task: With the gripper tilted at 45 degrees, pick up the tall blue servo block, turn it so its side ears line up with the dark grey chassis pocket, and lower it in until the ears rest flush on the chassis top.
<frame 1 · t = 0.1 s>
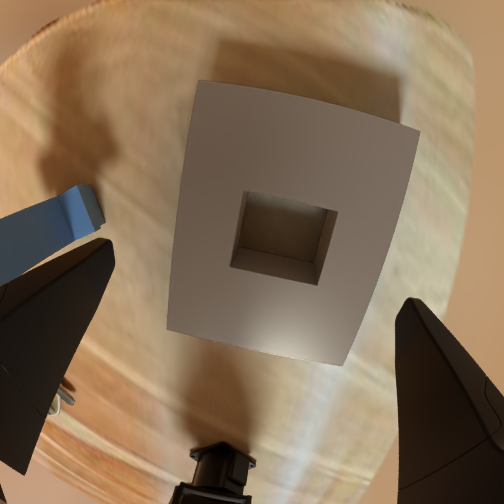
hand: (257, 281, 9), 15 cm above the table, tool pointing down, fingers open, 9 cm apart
salad plate: (18, 357, 36), on the table
servo: (80, 212, 26), on the table
chassis: (283, 223, 24), on the table
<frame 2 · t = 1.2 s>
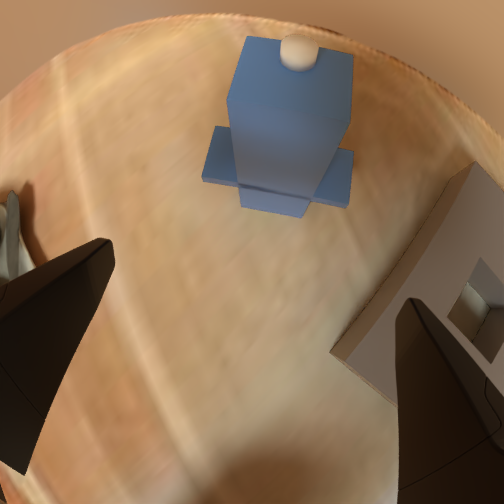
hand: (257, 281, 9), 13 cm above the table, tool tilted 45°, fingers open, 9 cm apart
servo: (275, 189, 24), on the table
chassis: (458, 312, 22), on the table
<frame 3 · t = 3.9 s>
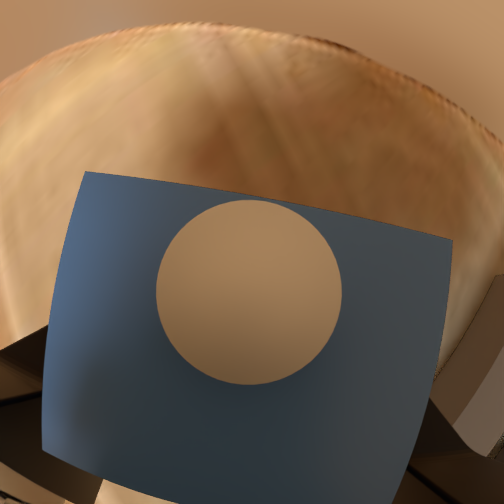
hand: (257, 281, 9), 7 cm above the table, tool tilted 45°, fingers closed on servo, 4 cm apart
servo: (250, 319, 16), on the table, touching gripper
chassis: (477, 445, 14), on the table
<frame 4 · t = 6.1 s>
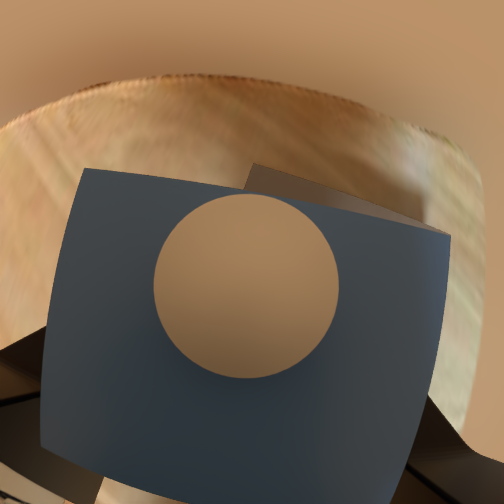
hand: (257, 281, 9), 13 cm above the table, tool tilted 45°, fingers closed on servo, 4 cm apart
servo: (250, 318, 16), point 6 cm above the table, touching gripper
chassis: (308, 334, 22), on the table
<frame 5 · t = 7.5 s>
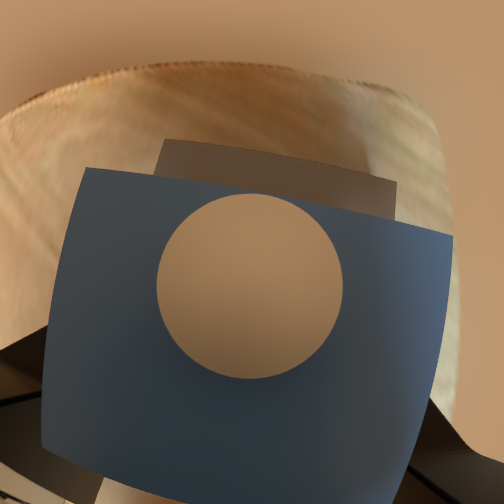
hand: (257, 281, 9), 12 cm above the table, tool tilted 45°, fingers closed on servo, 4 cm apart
servo: (250, 318, 16), point 5 cm above the table, touching gripper
chassis: (251, 313, 20), on the table
when the fingers open (7 cm above the table, at t = 8.7 s): servo stays where it is, resting on chassis.
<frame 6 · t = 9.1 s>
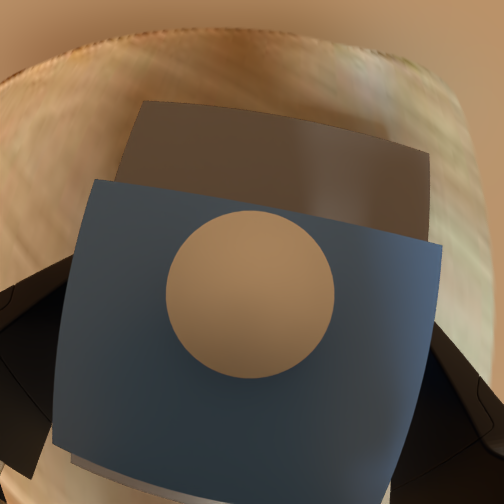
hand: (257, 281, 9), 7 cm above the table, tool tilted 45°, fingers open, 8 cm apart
servo: (251, 318, 16), resting on chassis
chassis: (250, 318, 16), on the table
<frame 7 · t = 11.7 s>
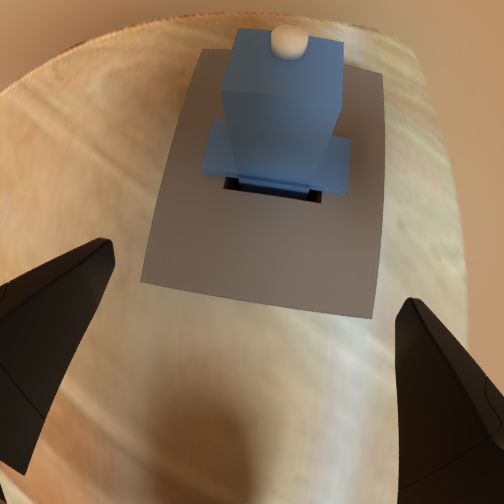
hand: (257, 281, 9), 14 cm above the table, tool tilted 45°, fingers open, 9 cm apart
servo: (275, 179, 24), resting on chassis
chassis: (275, 180, 24), on the table
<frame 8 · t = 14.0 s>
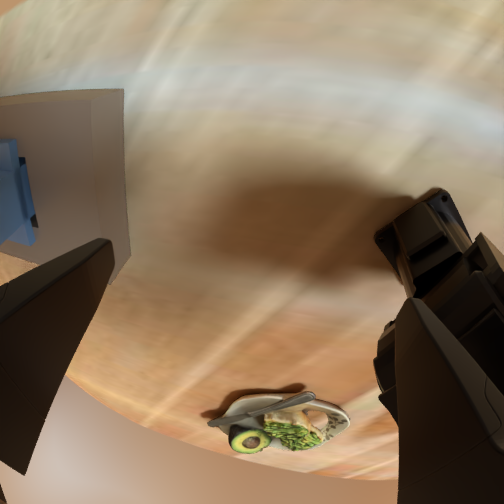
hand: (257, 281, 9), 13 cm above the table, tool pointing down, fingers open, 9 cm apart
salad plate: (279, 418, 41), on the table
servo: (40, 170, 23), resting on chassis
chassis: (40, 170, 23), on the table
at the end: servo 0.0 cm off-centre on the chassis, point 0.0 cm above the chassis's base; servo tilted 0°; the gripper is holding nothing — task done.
